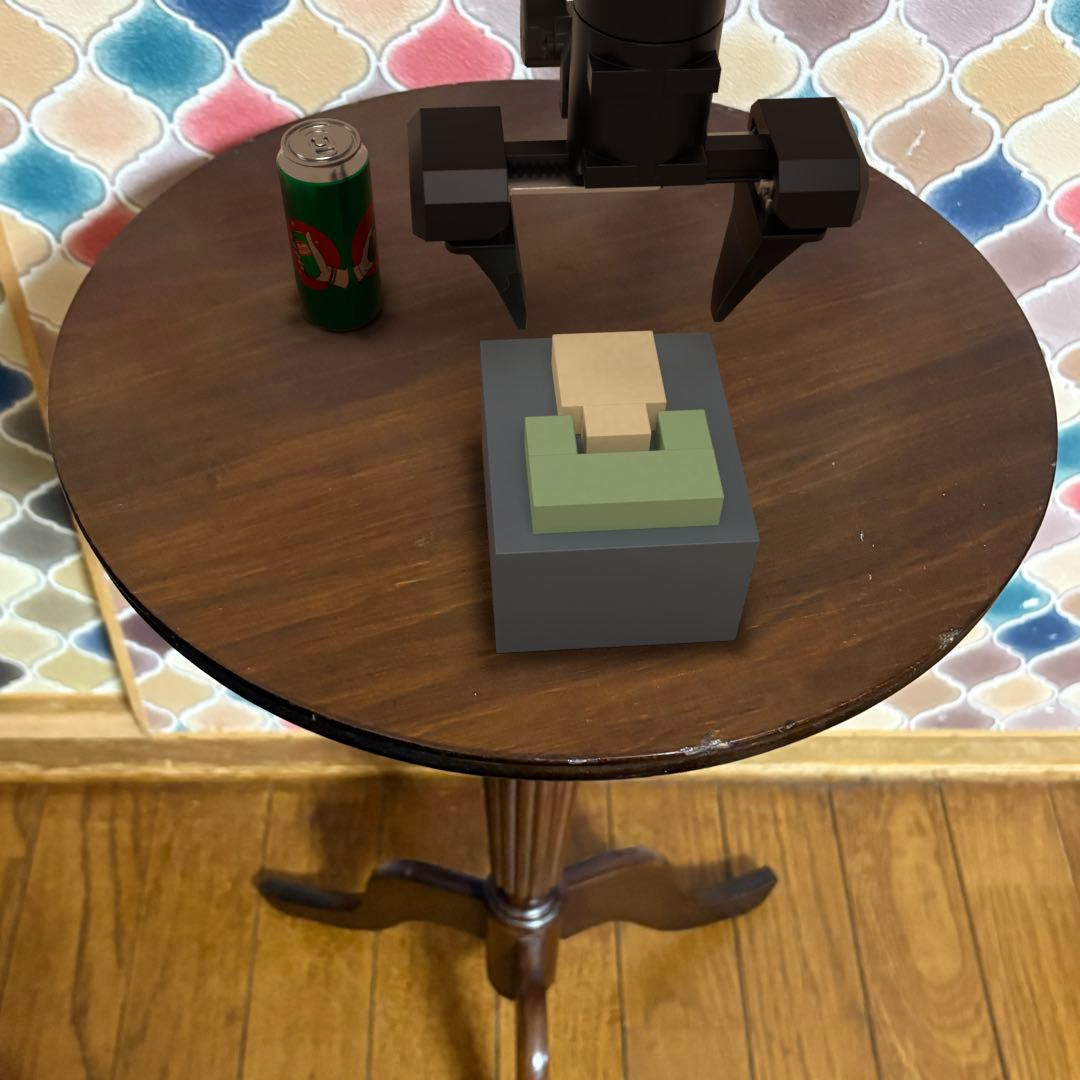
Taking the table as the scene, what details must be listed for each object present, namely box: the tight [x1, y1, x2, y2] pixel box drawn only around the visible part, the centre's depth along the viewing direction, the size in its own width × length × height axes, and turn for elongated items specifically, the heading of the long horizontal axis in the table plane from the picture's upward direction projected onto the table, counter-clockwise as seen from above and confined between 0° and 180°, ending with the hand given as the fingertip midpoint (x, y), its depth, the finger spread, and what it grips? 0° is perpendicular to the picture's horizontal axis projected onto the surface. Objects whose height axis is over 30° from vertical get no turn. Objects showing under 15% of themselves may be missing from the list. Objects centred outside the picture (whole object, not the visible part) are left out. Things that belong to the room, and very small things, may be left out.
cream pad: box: [551, 330, 667, 454], centre depth 62 cm, size 5×7×2 cm
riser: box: [479, 331, 761, 654], centre depth 65 cm, size 12×14×8 cm
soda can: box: [275, 117, 384, 333], centre depth 74 cm, size 5×5×12 cm
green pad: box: [524, 410, 724, 534], centre depth 59 cm, size 8×6×2 cm, turn 95°
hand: (619, 319), depth 60 cm, fingers open, 9 cm apart
